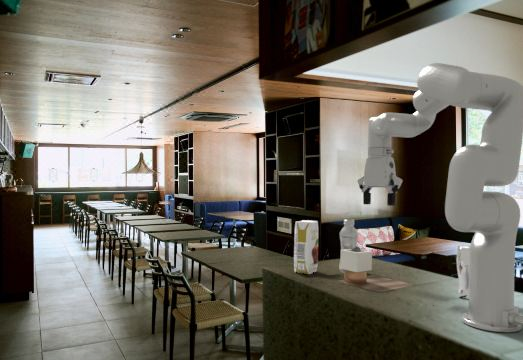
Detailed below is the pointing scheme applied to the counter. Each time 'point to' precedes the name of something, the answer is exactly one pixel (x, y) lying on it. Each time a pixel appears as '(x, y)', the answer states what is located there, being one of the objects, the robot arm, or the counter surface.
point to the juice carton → (306, 246)
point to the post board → (371, 280)
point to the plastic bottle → (348, 237)
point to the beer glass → (463, 270)
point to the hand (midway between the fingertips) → (378, 204)
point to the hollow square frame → (356, 260)
